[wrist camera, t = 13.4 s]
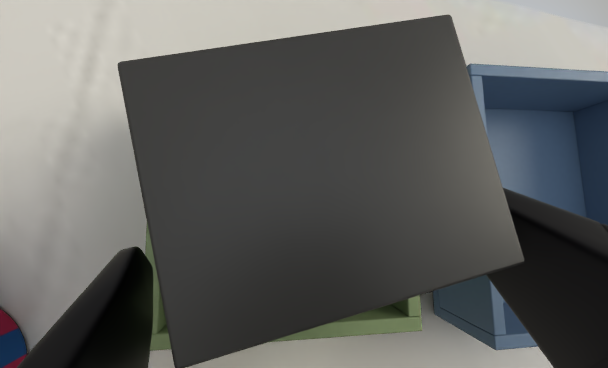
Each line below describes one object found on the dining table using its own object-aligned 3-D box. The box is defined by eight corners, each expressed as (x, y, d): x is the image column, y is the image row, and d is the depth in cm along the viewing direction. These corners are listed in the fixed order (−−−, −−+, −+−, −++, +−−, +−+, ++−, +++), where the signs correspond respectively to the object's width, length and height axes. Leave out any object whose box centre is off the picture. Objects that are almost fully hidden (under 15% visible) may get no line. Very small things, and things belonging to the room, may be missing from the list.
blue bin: (595, 303, 18) (704, 332, 14) (433, 314, 17) (495, 350, 12) (569, 107, 20) (660, 74, 15) (419, 101, 18) (470, 63, 14)
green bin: (380, 299, 16) (422, 331, 12) (178, 311, 15) (139, 352, 10) (371, 114, 18) (407, 79, 13) (185, 108, 16) (153, 66, 12)
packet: (334, 228, 16) (528, 264, 4) (247, 251, 15) (172, 373, 3) (317, 160, 16) (450, 7, 4) (231, 178, 16) (113, 55, 4)
